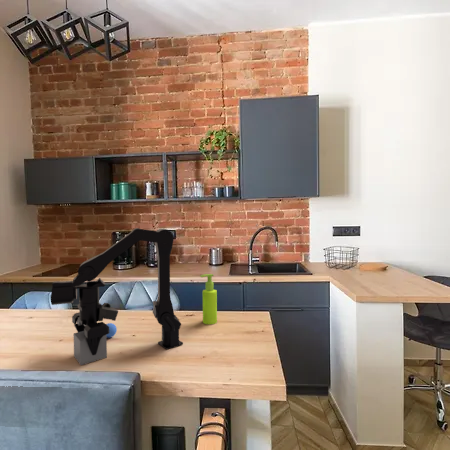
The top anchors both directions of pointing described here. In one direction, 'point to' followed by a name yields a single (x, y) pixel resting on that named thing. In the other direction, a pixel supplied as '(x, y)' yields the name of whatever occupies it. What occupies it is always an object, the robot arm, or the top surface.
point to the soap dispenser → (209, 302)
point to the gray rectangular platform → (83, 351)
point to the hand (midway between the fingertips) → (90, 350)
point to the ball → (111, 330)
